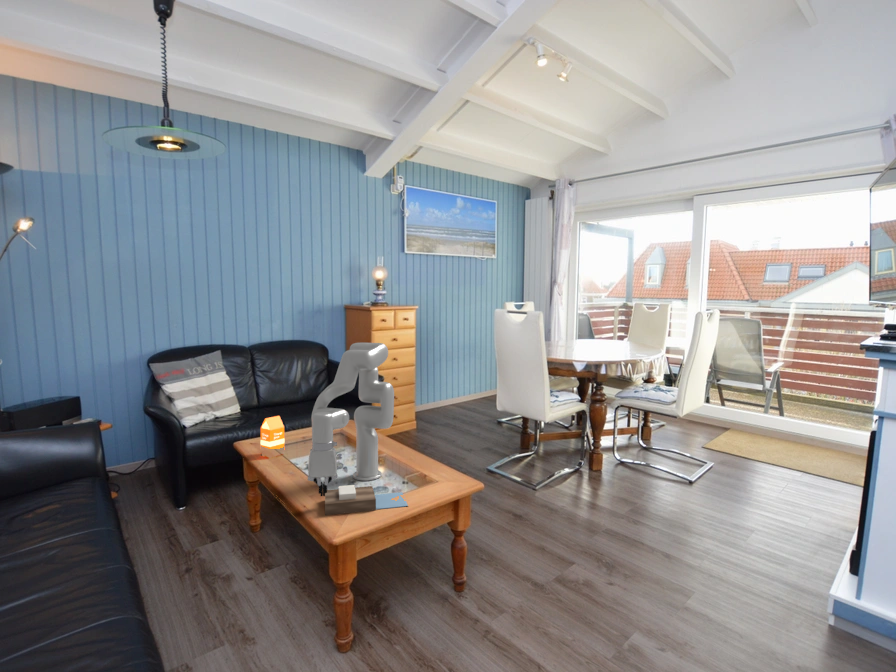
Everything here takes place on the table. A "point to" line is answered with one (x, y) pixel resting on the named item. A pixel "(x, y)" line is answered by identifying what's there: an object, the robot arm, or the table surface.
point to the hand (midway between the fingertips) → (322, 494)
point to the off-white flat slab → (347, 492)
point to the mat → (389, 501)
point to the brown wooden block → (350, 501)
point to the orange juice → (272, 433)
